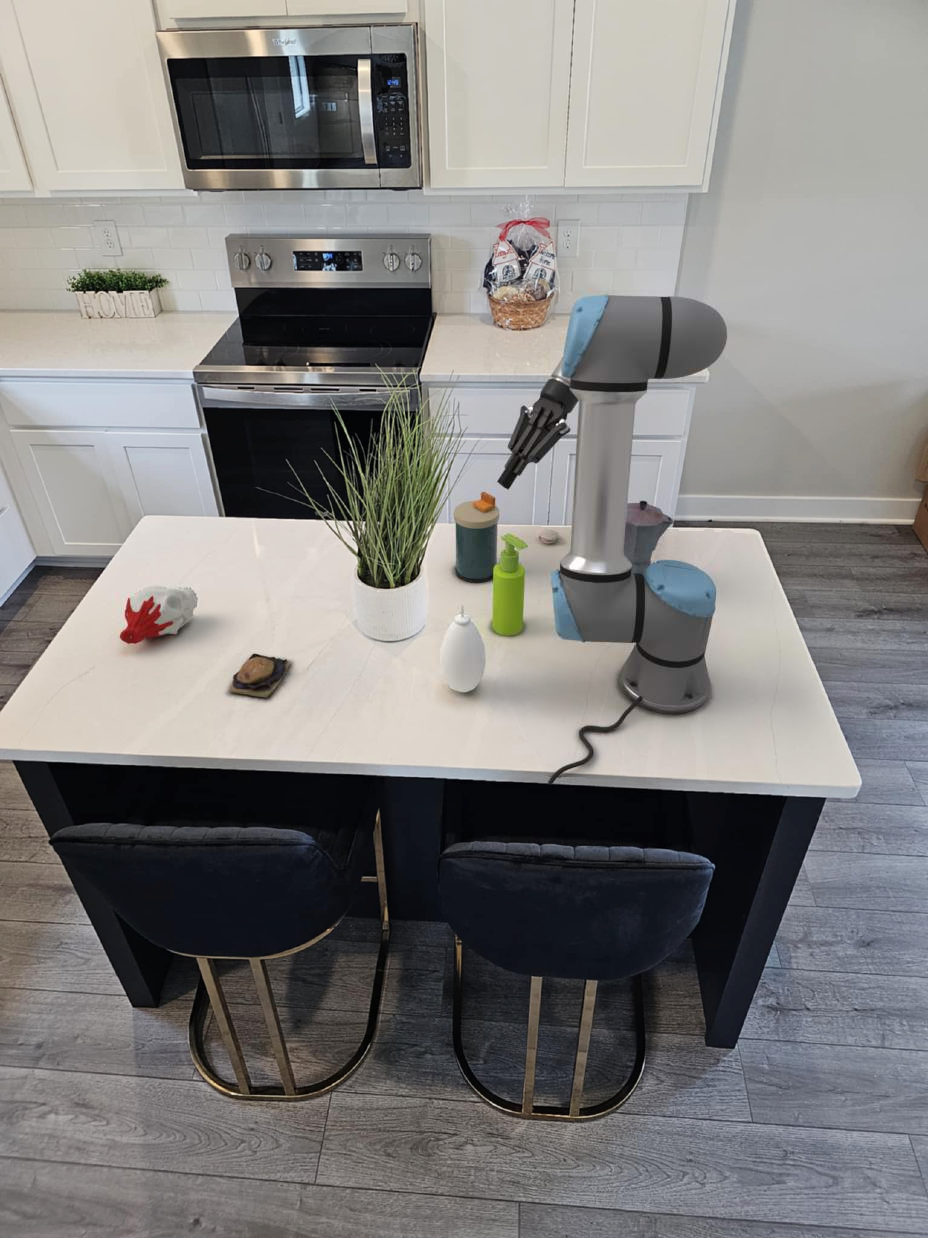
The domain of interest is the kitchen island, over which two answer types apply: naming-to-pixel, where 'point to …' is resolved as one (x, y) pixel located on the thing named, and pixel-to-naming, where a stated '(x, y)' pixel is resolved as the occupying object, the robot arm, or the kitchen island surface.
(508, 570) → the soap dispenser
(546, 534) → the macaroon
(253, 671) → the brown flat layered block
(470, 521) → the travel mug
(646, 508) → the moka pot
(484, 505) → the orange l-shaped block
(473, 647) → the sauce bottle
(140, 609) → the white decorated figurine
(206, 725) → the kitchen island surface
